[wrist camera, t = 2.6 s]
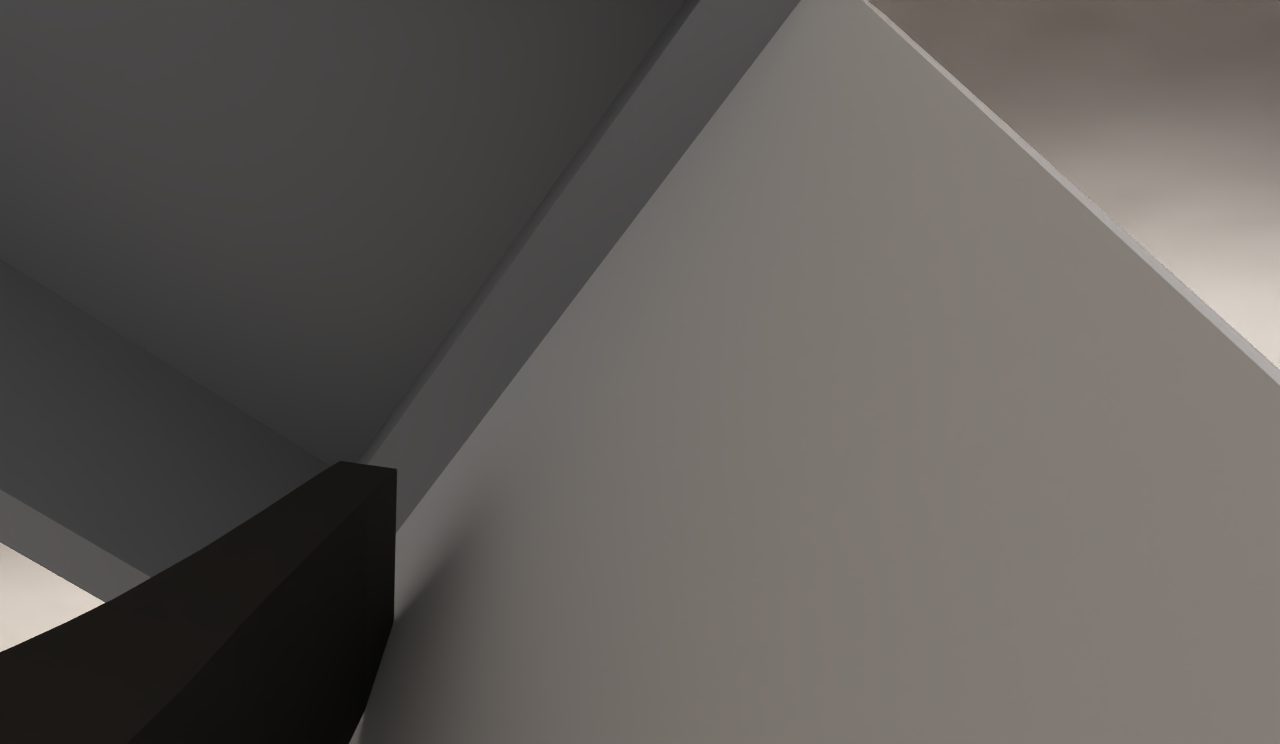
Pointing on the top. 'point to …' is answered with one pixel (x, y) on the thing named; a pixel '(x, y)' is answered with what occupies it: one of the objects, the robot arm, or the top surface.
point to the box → (304, 238)
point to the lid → (856, 457)
